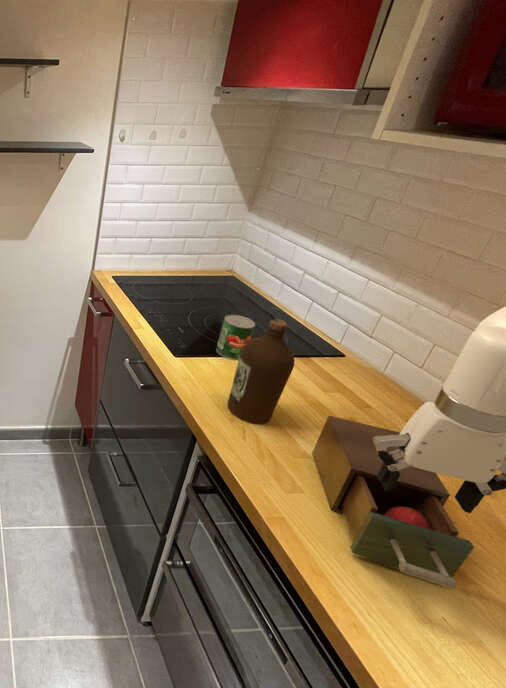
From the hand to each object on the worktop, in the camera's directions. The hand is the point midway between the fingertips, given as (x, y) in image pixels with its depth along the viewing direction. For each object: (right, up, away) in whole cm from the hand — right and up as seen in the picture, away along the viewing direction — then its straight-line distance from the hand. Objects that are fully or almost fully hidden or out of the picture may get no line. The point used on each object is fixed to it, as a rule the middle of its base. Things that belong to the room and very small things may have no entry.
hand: (422, 494), depth 71 cm
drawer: (0, -11, +5) cm, 12 cm away
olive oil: (-4, +3, +38) cm, 39 cm away
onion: (-1, -9, +2) cm, 9 cm away
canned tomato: (+5, +13, +63) cm, 64 cm away
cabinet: (+5, -7, +17) cm, 19 cm away
